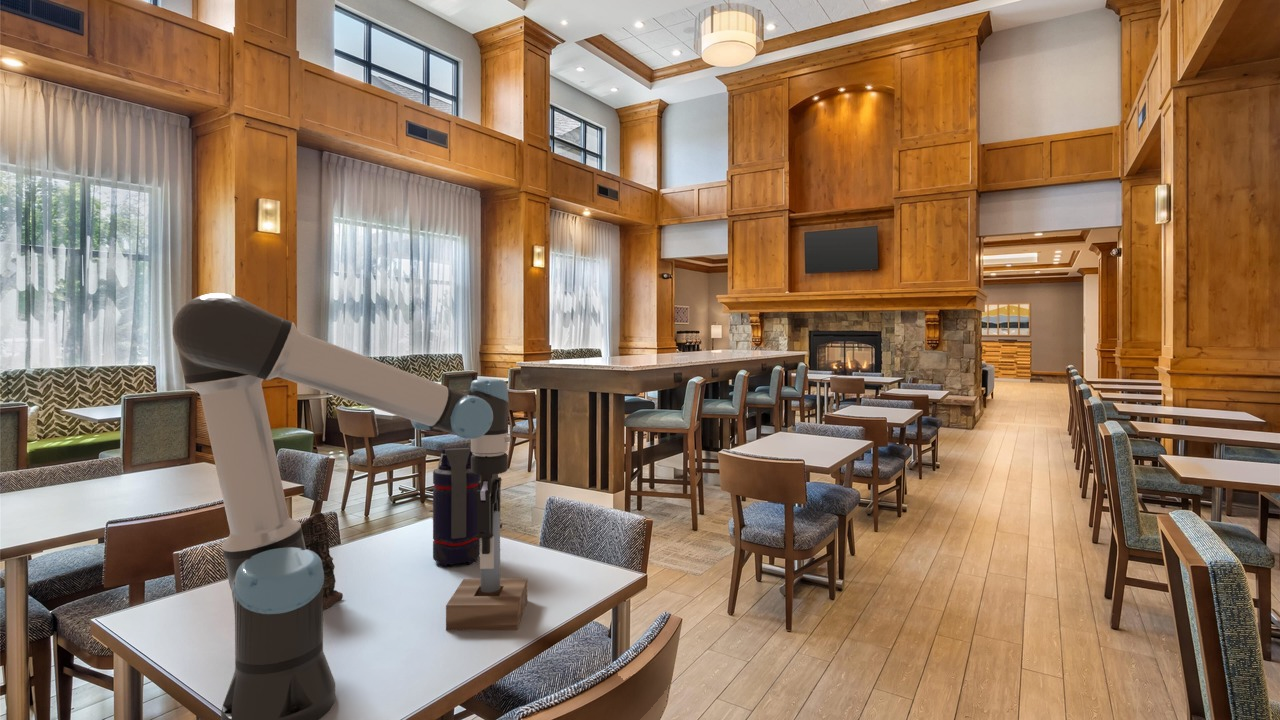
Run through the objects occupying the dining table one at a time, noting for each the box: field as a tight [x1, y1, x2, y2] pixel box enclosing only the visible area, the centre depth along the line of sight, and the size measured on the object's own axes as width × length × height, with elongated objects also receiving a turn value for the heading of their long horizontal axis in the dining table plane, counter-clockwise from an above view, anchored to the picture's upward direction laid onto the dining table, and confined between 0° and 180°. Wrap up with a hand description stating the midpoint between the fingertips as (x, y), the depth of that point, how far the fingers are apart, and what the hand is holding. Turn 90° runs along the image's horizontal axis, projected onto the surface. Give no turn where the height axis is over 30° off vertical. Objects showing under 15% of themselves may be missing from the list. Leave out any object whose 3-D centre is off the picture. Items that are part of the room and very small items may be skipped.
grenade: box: [432, 446, 481, 568], centre depth 158 cm, size 14×12×30 cm
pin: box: [480, 511, 501, 592], centre depth 127 cm, size 4×4×16 cm
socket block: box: [445, 577, 528, 631], centre depth 127 cm, size 14×14×5 cm
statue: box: [300, 512, 344, 611], centre depth 132 cm, size 7×7×20 cm
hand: (489, 563), depth 127 cm, fingers closed on pin, 4 cm apart
